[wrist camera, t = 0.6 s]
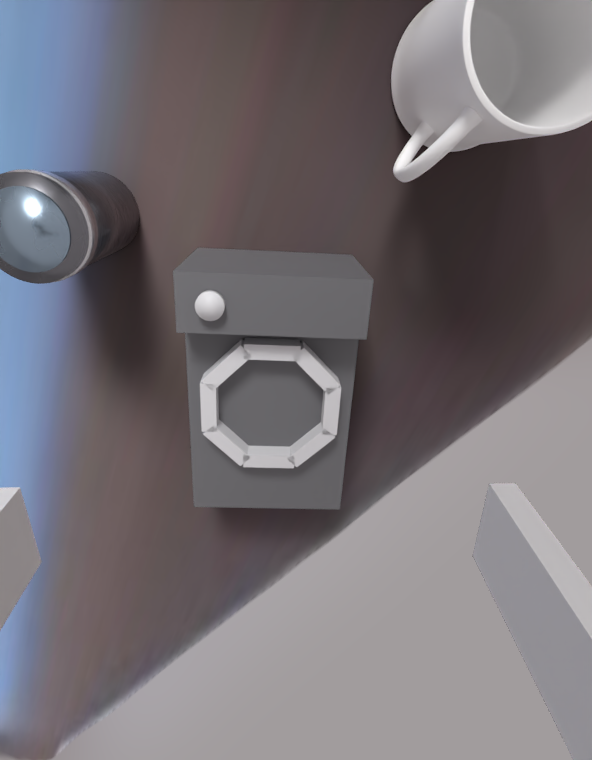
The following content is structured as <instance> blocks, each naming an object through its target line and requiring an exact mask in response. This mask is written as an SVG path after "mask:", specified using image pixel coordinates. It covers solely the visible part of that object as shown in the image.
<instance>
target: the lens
mask: <svg viewBox="0 0 592 760" xmlns="http://www.w3.org/2000/svg"><path fill="white" fill-rule="evenodd" d="M139 221H140V217H139V209H138V205H137V203H136V200H135V198H134V196H133V194H132V193H131V192H130V190H129V189H128V188H127V187H126V185H124V184H123V183H122V182H121V181H120V180H118V179H117V178H115V177H113V176H112V175H109V174H107V173H103V172H96V171H89V172H47V171H43V170H13V171H9V172H6V173H3V174H0V269H1V270H3V271H4V272H6V273H7V274H9V275H11V276H13V277H15V278H17V279H20V280H22V281H26V282H30V283H38V284H39V283H51V282H57V281H61V280H64V279H66V278H68V277H71V276H73V275H75V274H76V273H78V272H80V271H81V270H83V269H84V268H85V267H86V266H88V265H90V264H92V263H94V262H96V261H98V260H100V259H102V258H104V257H106V256H108V255H110V254H112V253H114V252H116V251H118V250H120V249H122V248H124V247H126V246H127V245H128V244H129V243H130V242H131V241H132V240H133V239H134V237H135V235H136V233H137V231H138V227H139Z"/></svg>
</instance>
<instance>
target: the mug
mask: <svg viewBox="0 0 592 760" xmlns="http://www.w3.org/2000/svg"><path fill="white" fill-rule="evenodd" d="M391 91H392V98H393V103H394V107H395V110H396V112H397V115H398V117H399V119H400V121H401V123H402V125H403V126H404V128H405V129H406V130H407V131H408V133H409V134H410V135H411V136H412V137H411V138H410V140H409V141H408V142H407V144H406V145H405V147H404V148H403V150H402V151H401V153H400V155H399V156H398V158H397V160H396V162H395V165H394V168H393V173H394V176H395V177H396V178H397V179H398V180H399V181H401V182H409V181H411V180H414V179H415V178H417V177H419V176H420V175H422V174H423V173H425V172H426V171H427V170H429V169H430V168H431V167H432V166H434V165H435V164H436V163H437V162H438V161H440V160H441V159H442V158H443V157H444V156H445V155H446V154H447V153H449V152H456V151H463V150H467V149H470V148H473V147H475V146H478V145H480V144H486V143H494V142H501V141H509V140H517V139H525V138H532V137H540V136H548V135H554V134H559V133H564V132H567V131H570V130H573V129H576V128H578V127H580V126H583V125H585V124H587V123H588V122H590V121H592V0H433V1H432V2H430V3H429V4H428V5H427V6H425V7H424V8H423V9H422V10H421V11H420V12H419V13H418V14H417V15H416V16H415V18H414V19H413V20H412V21H411V23H410V24H409V26H408V27H407V29H406V30H405V32H404V34H403V36H402V38H401V40H400V42H399V44H398V47H397V50H396V53H395V56H394V60H393V66H392V73H391ZM422 145H425V146H427V147H429V148H428V149H427V150H426V151H425V152H423V153H422V154H421V155H420V156H419V157H418V158H416V159H415V160H414V161H413V162H411V161H412V159H413V158H414V156H415V155H416V153H417V152H418V150H419V149H420V148H421V146H422Z"/></svg>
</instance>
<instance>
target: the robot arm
mask: <svg viewBox="0 0 592 760" xmlns="http://www.w3.org/2000/svg"><path fill="white" fill-rule="evenodd" d="M473 558H474V560H475V562H476V564H477V566H478V568H479V570H480V572H481V574H482V576H483V578H484V580H485V582H486V584H487V586H488V588H489V590H490V592H491V594H492V596H493V598H494V600H495V602H496V604H497V606H498V608H499V610H500V612H501V614H502V617H503V618H504V621H505V623H506V625H507V627H508V629H509V631H510V632H511V635H512V637H513V639H514V641H515V643H516V645H517V647H518V649H519V651H520V653H521V655H522V657H523V659H524V661H525V663H526V665H527V667H528V669H529V671H530V673H531V675H532V677H533V679H534V681H535V683H536V685H537V687H538V689H539V692H540V693H541V696H542V697H543V700H544V702H545V704H546V706H547V708H548V710H549V712H550V714H551V716H552V718H553V720H554V722H555V724H556V726H557V728H558V730H559V732H560V734H561V736H562V738H563V740H564V742H565V744H566V746H567V748H568V750H569V752H570V754H571V756H572V758H573V760H592V585H591V584H590V583H589V581H588V580H587V579H586V577H585V576H584V575H583V573H582V572H581V571H580V569H579V568H578V566H577V565H576V564H575V563H574V561H573V560H572V558H571V557H570V556H569V555H568V553H567V552H566V551H565V549H564V548H563V546H562V545H561V544H560V542H559V541H558V540H557V538H556V537H555V536H554V534H553V533H552V531H551V530H550V529H549V528H548V526H547V525H546V523H545V522H544V521H543V519H542V518H541V517H540V515H539V514H538V513H537V511H536V510H535V509H534V507H533V506H532V505H531V503H530V502H529V500H528V499H527V498H526V497H525V495H524V494H523V492H522V491H521V490H520V488H519V487H518V486H517V484H516V483H489V487H488V491H487V495H486V500H485V504H484V508H483V513H482V518H481V521H480V526H479V530H478V535H477V539H476V543H475V548H474V552H473ZM40 564H41V558H40V555H39V551H38V548H37V545H36V541H35V538H34V534H33V531H32V527H31V524H30V521H29V517H28V514H27V510H26V507H25V503H24V500H23V496H22V493H21V490H20V488H0V630H1V628H2V627H3V625H4V623H5V622H6V620H7V618H8V617H9V615H10V613H11V612H12V610H13V609H14V607H15V605H16V604H17V602H18V600H19V599H20V597H21V595H22V594H23V592H24V590H25V589H26V587H27V585H28V584H29V582H30V580H31V579H32V577H33V575H34V574H35V572H36V570H37V569H38V567H39V565H40Z"/></svg>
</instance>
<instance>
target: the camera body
mask: <svg viewBox="0 0 592 760" xmlns="http://www.w3.org/2000/svg"><path fill="white" fill-rule="evenodd" d="M173 280H174V297H175V314H176V331H177V333H185V342H186V361H187V381H188V401H189V421H190V440H191V460H192V480H193V499H194V507H228V508H283V509H338V510H340V504H341V495H342V486H343V477H344V468H345V459H346V450H347V441H348V431H349V422H350V413H351V404H352V395H353V386H354V377H355V368H356V359H357V350H358V341H359V339H365V340H367V332H368V323H369V315H370V307H371V298H372V290H373V281H374V280H373V278H372V277H371V276H370V275H369V274H368V273H367V272H366V270H365V269H364V268H363V267H362V266H361V265H360V263H359V262H358V261H357V260H356V259H355V258H354V256H353V255H347V254H326V253H304V252H282V251H260V250H238V249H216V248H197V249H196V250H195V251H194V252H193V253H192V254H191V255H190V256H188V257H187V258H186V259H185V260H184V261H183V262H182V263H181V264H180V265H179V266H178V267H177V268H176V269H175V270H174V271H173Z"/></svg>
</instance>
